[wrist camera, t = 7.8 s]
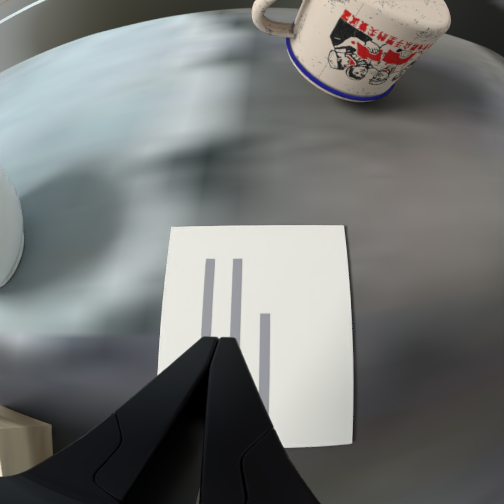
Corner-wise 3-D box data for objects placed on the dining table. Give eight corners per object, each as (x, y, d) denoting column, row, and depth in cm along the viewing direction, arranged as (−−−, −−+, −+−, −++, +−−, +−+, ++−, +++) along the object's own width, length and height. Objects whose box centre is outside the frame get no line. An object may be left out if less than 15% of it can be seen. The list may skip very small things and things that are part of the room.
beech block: (52, 424, 14) (-3, 428, 10) (57, 492, 12) (8, 509, 8) (3, 405, 14) (-49, 402, 10) (7, 468, 13) (-41, 475, 8)
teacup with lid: (477, 53, 12) (387, 126, 23) (425, -33, 12) (366, 46, 24) (274, -8, 10) (242, 113, 21) (261, -79, 11) (239, 28, 22)
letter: (351, 443, 13) (352, 443, 13) (157, 437, 14) (156, 438, 14) (343, 226, 18) (343, 225, 18) (172, 228, 18) (171, 226, 18)
